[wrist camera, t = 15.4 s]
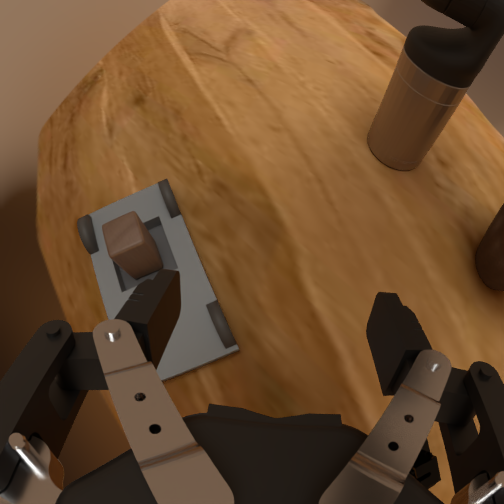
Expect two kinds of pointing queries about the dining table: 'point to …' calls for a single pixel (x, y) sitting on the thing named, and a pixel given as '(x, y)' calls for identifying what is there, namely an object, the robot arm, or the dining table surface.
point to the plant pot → (492, 254)
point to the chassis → (173, 257)
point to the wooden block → (131, 245)
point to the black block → (426, 467)
